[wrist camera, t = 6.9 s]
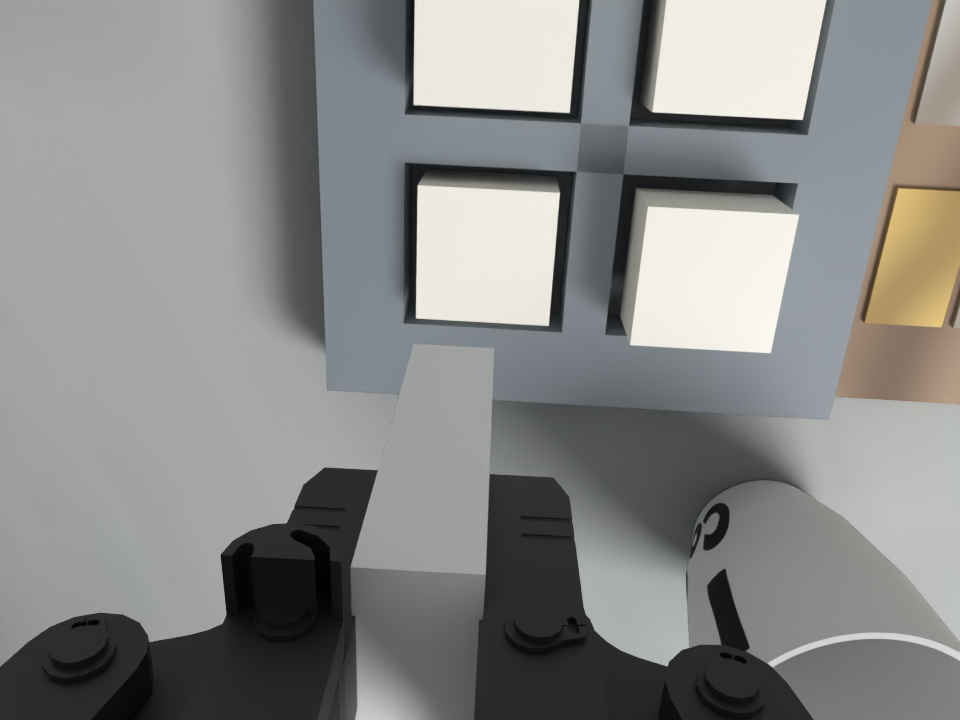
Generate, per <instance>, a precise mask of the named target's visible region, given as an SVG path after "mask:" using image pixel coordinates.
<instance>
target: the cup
mask: <svg viewBox="0 0 960 720" xmlns="http://www.w3.org/2000/svg"><path fill="white" fill-rule="evenodd" d="M686 591H687V612H688V632H689V648H691V647H694V646H697V645H701V644H703V645H725V646H729V647H732V648H736V649H739V650H742V651H746V652H748V653H750V654H752V655H754V656H755V657H757V658H759V659H761V660H762V661H764V662H766V663H767V664H769V665H770V666H771V667H772V668H773V669H774V670H775V671H776V672H777V673H778V674H779V675H780V676H781V677H782V678H783V679H784V680H785V681H786V682H787V683H788V684H789V686H790V687H791V689H792V690H793V691H794V693H795V694H796V696H797V697H798V698H799V700H800V701H801V702H802V704H803V705H804V707H805V708H806V709H807V711H808V712H809V714H810V715H811V716H812V718H813V719H814V720H960V641H959V640H958V639H957V638H956V637H955V635H954V634H953V633H952V632H951V630H950V629H949V628H948V627H947V625H946V624H945V623H944V622H943V621H942V619H941V618H940V617H939V616H938V614H937V613H936V612H935V611H934V609H933V608H932V607H931V606H930V605H929V603H928V602H927V601H926V600H925V598H924V597H923V596H922V595H921V593H920V592H919V591H918V590H917V589H916V587H915V586H914V585H913V584H912V582H911V581H910V580H909V579H908V578H907V577H906V576H905V575H904V574H903V573H902V572H901V571H900V570H899V569H898V568H897V567H896V566H895V565H894V564H893V563H892V562H891V561H890V560H888V559H887V558H886V557H885V556H884V555H883V554H882V553H881V552H880V551H879V550H878V549H877V548H876V547H875V546H874V545H873V544H872V543H870V542H869V541H868V540H867V539H866V538H865V537H864V536H863V535H862V534H861V533H860V532H859V531H858V530H857V529H856V528H855V527H854V526H852V525H851V524H850V523H849V522H848V521H847V520H846V519H845V518H843V517H842V516H841V515H839V514H838V513H836V512H835V511H833V510H831V509H830V508H828V507H827V506H825V505H823V504H822V503H820V502H819V501H817V500H815V499H814V498H812V497H811V496H809V495H807V494H806V493H804V492H803V491H801V490H800V489H798V488H796V487H794V486H792V485H789V484H786V483H783V482H778V481H771V480H758V481H750V482H746V483H742V484H739V485H736V486H733V487H731V488H729V489H727V490H725V491H723V492H722V493H720V494H719V495H717V496H716V497H715V498H713V499H712V500H711V501H710V502H709V503H708V504H707V505H706V506H705V507H704V509H703V510H702V512H701V513H700V515H699V517H698V519H697V521H696V523H695V527H694V531H693V537H692V543H691V549H690V555H689V560H688V566H687V572H686Z"/></svg>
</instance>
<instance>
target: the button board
mask: <svg viewBox="0 0 960 720" xmlns="http://www.w3.org/2000/svg"><path fill="white" fill-rule="evenodd" d="M651 3H652V0H579V9H578V21H577V33H576V44H575V56H574V68H573V80H572V91H571V103H570V113H560V112H541V111H521V110H501V109H482V108H462V107H443V106H423V105H414V23H415V0H313V11H314V39H315V67H316V96H317V124H318V152H319V180H320V208H321V236H322V264H323V292H324V320H325V348H326V376H327V390H331V391H348V392H365V393H382V394H400V391H401V387H402V384H403V380H404V377H405V373H406V369H407V366H408V362H409V359H410V355H411V352H412V348H413V345H414V344H426V345H445V346H464V347H483V348H494V369H493V395H492V400H500V401H517V402H534V403H551V404H567V405H584V406H601V407H618V408H635V409H652V410H669V411H686V412H702V413H719V414H736V415H753V416H770V417H787V418H804V419H821V420H829V417H830V413H831V409H832V405H833V401H834V397H835V393H836V389H837V385H838V381H839V377H840V373H841V368H842V364H843V360H844V356H845V352H846V348H847V344H848V340H849V336H850V332H851V328H852V324H853V320H854V316H855V312H856V308H857V304H858V300H859V295H860V291H861V287H862V283H863V279H864V275H865V271H866V267H867V263H868V259H869V255H870V251H871V247H872V243H873V239H874V235H875V231H876V226H877V222H878V218H879V214H880V210H881V206H882V202H883V198H884V194H885V190H886V186H887V182H888V178H889V174H890V170H891V166H892V162H893V157H894V153H895V149H896V145H897V141H898V137H899V133H900V129H901V125H902V121H903V117H904V113H905V109H906V105H907V101H908V97H909V93H910V88H911V84H912V80H913V76H914V72H915V68H916V64H917V60H918V56H919V52H920V48H921V44H922V40H923V36H924V32H925V28H926V24H927V19H928V15H929V11H930V7H931V3H932V0H826V5H825V10H824V15H823V20H822V25H821V30H820V35H819V40H818V45H817V50H816V56H815V61H814V66H813V71H812V76H811V81H810V86H809V91H808V96H807V101H806V106H805V111H804V116H803V120H794V119H774V118H755V117H735V116H715V115H696V114H676V113H656V112H651V111H650V110H649V109H647V108H646V107H645V106H643V105H642V104H641V103H640V95H641V87H642V79H643V70H644V62H645V53H646V45H647V36H648V28H649V20H650V11H651ZM427 169H430V170H449V171H468V172H487V173H506V174H525V175H543V176H556V178H557V182H558V187H559V191H560V198H559V210H558V222H557V234H556V246H555V257H554V269H553V281H552V293H551V305H550V317H549V326H540V325H523V324H505V323H488V322H470V321H452V320H435V319H417V318H416V274H417V198H418V184H419V182H420V180H421V179H422V177H423V175H424V173H425V172H426V170H427ZM635 188H650V189H668V190H687V191H706V192H725V193H744V194H763V195H773V196H774V197H776V198H777V199H778V200H780V201H781V202H782V203H784V204H785V205H787V206H788V207H789V208H791V209H792V210H794V211H795V212H796V213H798V214H799V218H798V223H797V228H796V233H795V238H794V243H793V247H792V252H791V257H790V262H789V267H788V272H787V277H786V281H785V286H784V291H783V296H782V301H781V306H780V311H779V315H778V320H777V325H776V330H775V335H774V340H773V345H772V349H771V353H757V352H740V351H722V350H705V349H687V348H670V347H653V346H635V345H630V344H629V341H628V338H627V335H626V332H625V329H624V326H623V323H622V320H621V317H620V311H621V303H622V294H623V286H624V278H625V270H626V262H627V253H628V245H629V237H630V229H631V220H632V212H633V204H634V196H635Z"/></svg>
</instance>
